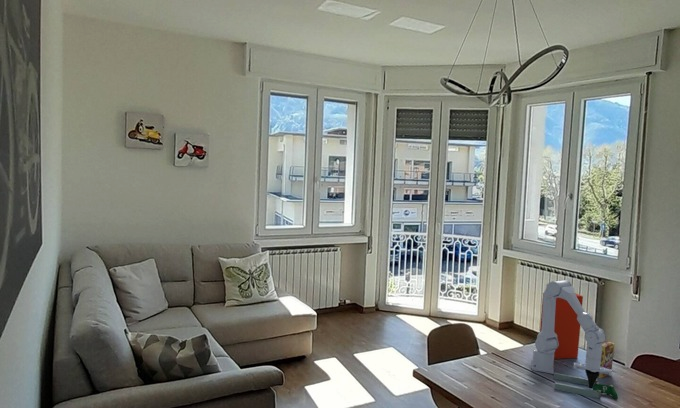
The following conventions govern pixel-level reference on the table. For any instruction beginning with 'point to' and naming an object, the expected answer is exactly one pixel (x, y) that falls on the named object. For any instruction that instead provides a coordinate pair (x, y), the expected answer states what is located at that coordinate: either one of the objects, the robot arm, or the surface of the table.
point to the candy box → (607, 356)
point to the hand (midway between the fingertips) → (590, 387)
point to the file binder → (566, 329)
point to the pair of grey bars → (573, 388)
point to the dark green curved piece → (606, 389)
